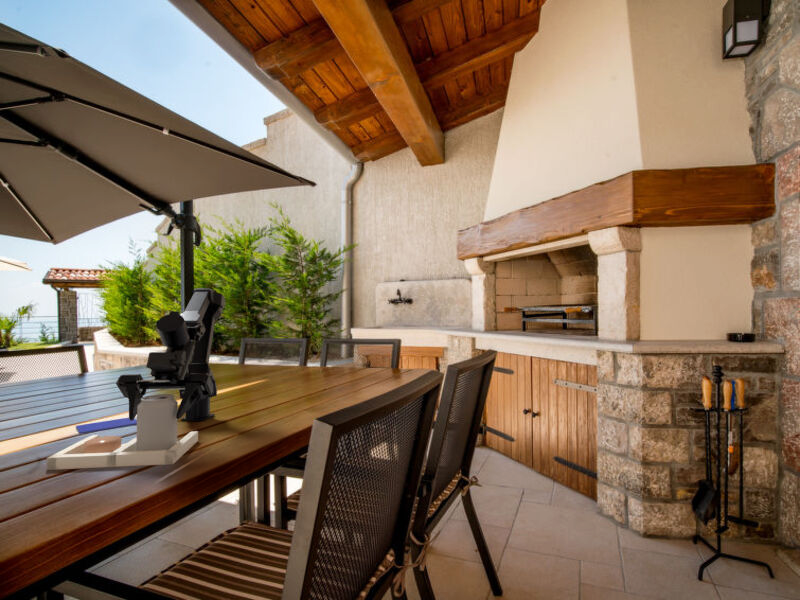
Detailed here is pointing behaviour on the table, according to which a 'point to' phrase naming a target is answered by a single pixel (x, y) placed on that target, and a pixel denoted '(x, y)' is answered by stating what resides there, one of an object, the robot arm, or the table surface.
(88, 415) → the table surface
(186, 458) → the table surface
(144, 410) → the can
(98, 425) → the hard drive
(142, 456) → the divider tray
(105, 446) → the terracotta dish
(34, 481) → the table surface
